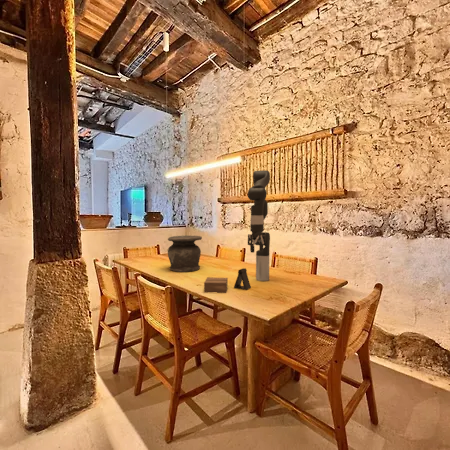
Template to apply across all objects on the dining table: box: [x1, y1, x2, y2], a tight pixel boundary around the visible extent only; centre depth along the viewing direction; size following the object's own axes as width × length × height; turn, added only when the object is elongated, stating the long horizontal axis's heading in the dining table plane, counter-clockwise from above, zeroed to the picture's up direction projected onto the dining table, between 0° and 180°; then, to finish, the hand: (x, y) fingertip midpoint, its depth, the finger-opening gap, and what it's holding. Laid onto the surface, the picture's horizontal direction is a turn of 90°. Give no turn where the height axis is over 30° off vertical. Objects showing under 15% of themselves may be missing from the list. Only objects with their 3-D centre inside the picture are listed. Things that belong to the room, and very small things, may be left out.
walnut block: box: [203, 276, 229, 294], centre depth 161 cm, size 13×13×6 cm
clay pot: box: [167, 235, 202, 273], centre depth 218 cm, size 29×30×30 cm
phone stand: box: [233, 267, 252, 291], centre depth 164 cm, size 9×6×12 cm, turn 60°
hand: (256, 251), depth 151 cm, fingers open, 8 cm apart
